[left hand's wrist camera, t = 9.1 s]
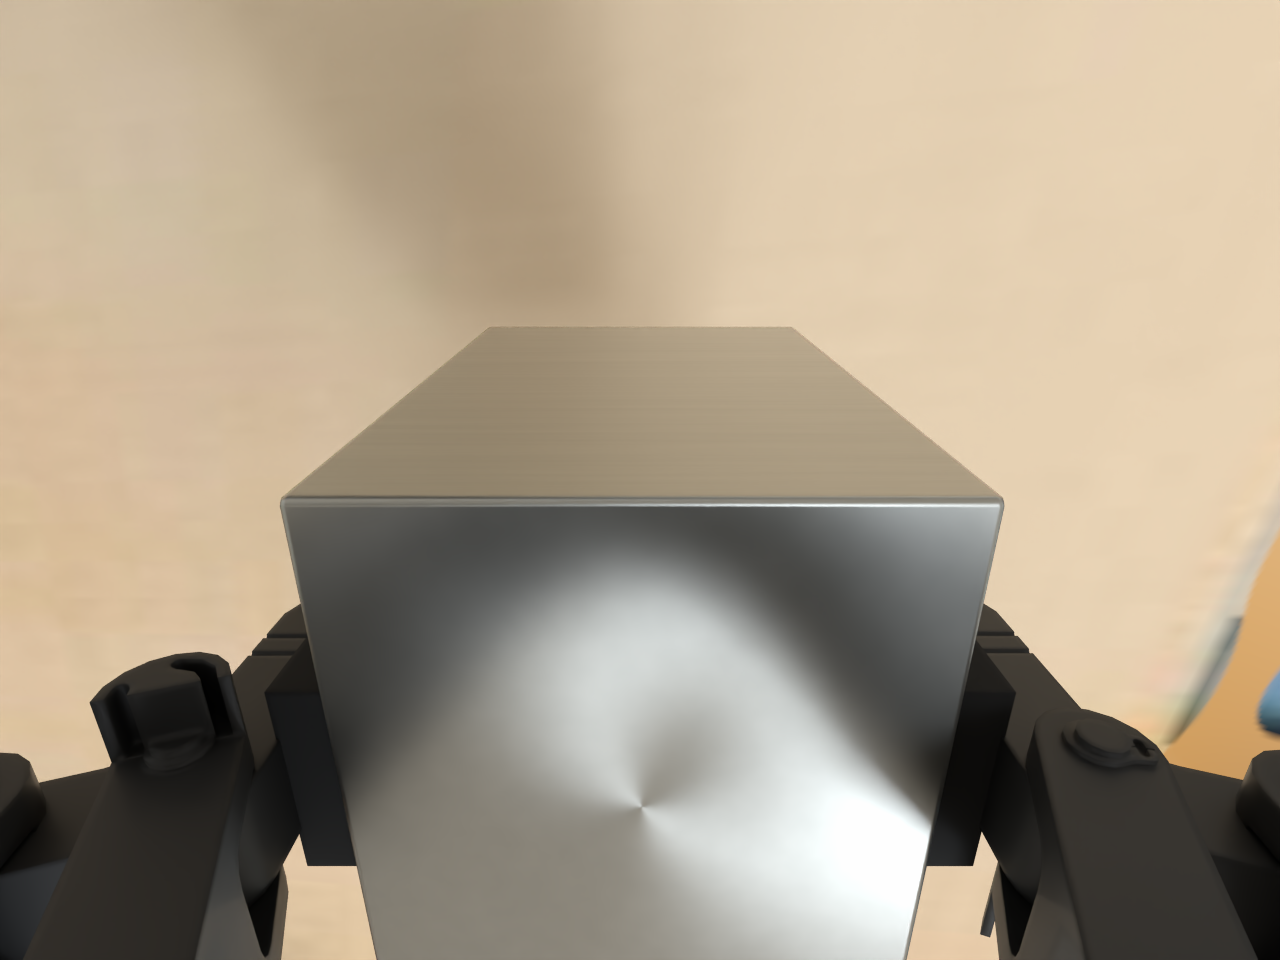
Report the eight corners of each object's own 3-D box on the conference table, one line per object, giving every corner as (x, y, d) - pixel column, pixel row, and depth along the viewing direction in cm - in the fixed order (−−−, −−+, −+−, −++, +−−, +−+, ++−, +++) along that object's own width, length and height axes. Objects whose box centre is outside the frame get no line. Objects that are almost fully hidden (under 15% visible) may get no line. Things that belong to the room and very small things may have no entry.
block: (487, 326, 16) (274, 498, 6) (794, 325, 16) (1010, 498, 6) (511, 617, 18) (386, 1020, 9) (769, 617, 18) (896, 1020, 9)
